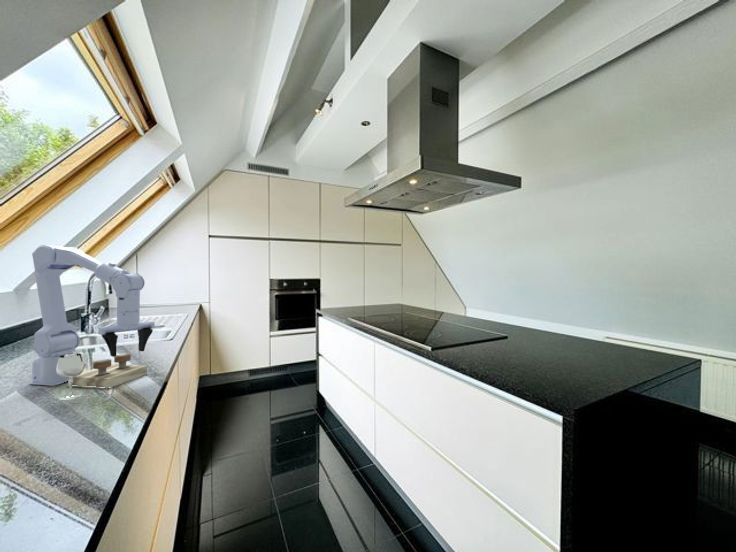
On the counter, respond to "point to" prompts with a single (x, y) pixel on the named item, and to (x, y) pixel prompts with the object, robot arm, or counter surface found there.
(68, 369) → the wineglass
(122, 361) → the knob
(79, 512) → the counter surface
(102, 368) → the knob
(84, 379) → the knob panel
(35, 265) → the robot arm
